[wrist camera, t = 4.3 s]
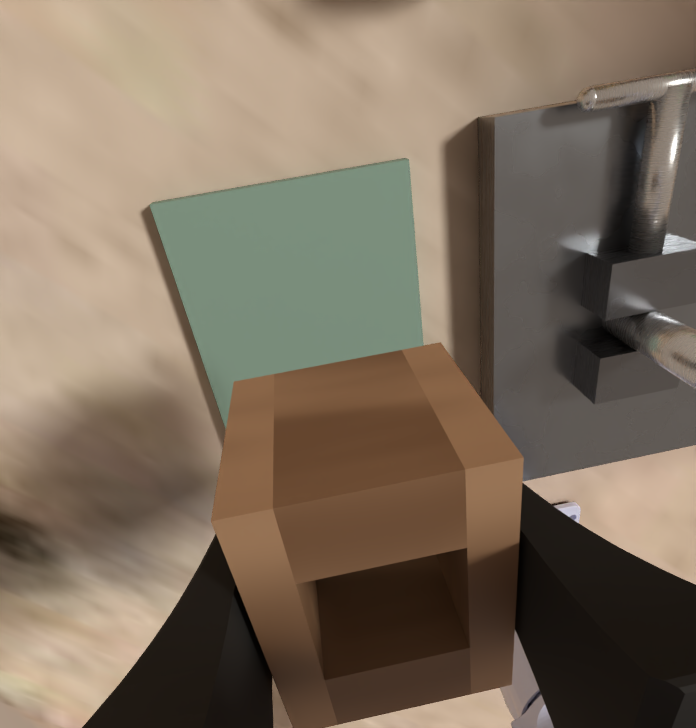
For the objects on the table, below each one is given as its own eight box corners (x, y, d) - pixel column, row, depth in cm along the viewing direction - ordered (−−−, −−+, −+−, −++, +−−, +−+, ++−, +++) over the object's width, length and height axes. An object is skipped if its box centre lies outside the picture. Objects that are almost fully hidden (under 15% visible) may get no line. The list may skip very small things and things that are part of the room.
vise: (680, 426, 27) (796, 516, 21) (482, 468, 27) (542, 572, 21) (770, 52, 19) (1014, 20, 12) (477, 102, 18) (581, 95, 12)
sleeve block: (450, 535, 15) (511, 684, 11) (290, 569, 15) (295, 734, 11) (440, 342, 12) (523, 457, 8) (233, 381, 11) (211, 520, 7)
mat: (428, 437, 25) (431, 444, 25) (244, 474, 25) (243, 482, 24) (404, 158, 19) (408, 159, 18) (153, 202, 18) (149, 204, 18)
